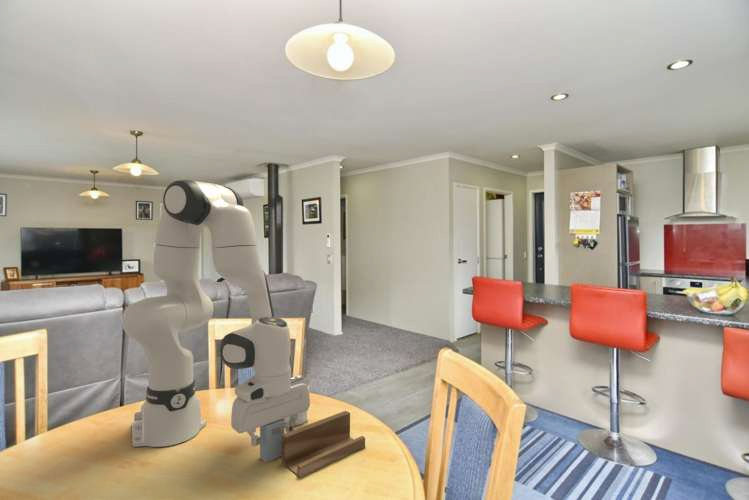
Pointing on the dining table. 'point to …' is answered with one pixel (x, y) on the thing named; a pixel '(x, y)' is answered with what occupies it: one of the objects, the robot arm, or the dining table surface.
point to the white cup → (299, 417)
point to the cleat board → (319, 444)
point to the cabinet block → (271, 440)
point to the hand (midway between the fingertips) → (273, 437)
